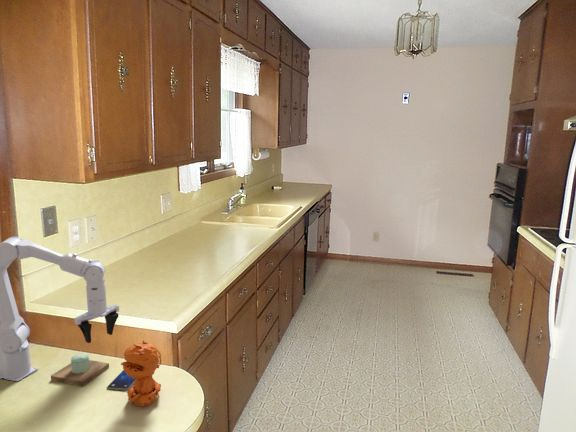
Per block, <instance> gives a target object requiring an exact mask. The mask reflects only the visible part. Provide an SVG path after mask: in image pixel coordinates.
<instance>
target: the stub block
mask: <svg viewBox="0 0 576 432" xmlns="http://www.w3.org/2000/svg"><path fill="white" fill-rule="evenodd" d="M89 366H90V369H89V370H87V371H86V372H83V373H79V374H77V373H72V366H71V362H70V363H69V364H67V365H66V366H65V367H64V366H63V368H61V369H59V370H57V372H54V373H53V374H51V375H50V380H51V381H54V382H59V383H64V384H70V385H75V386H80V387H84V386H85V385H87V384H89V383H90V382H91V381H93V380H94V379H96V378H97V377H98V376H99V375H101V374H102V373H104V372H106V370H108V369H109V368H110V363H108V362H104V361H97V360H91V359H89Z"/></svg>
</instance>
